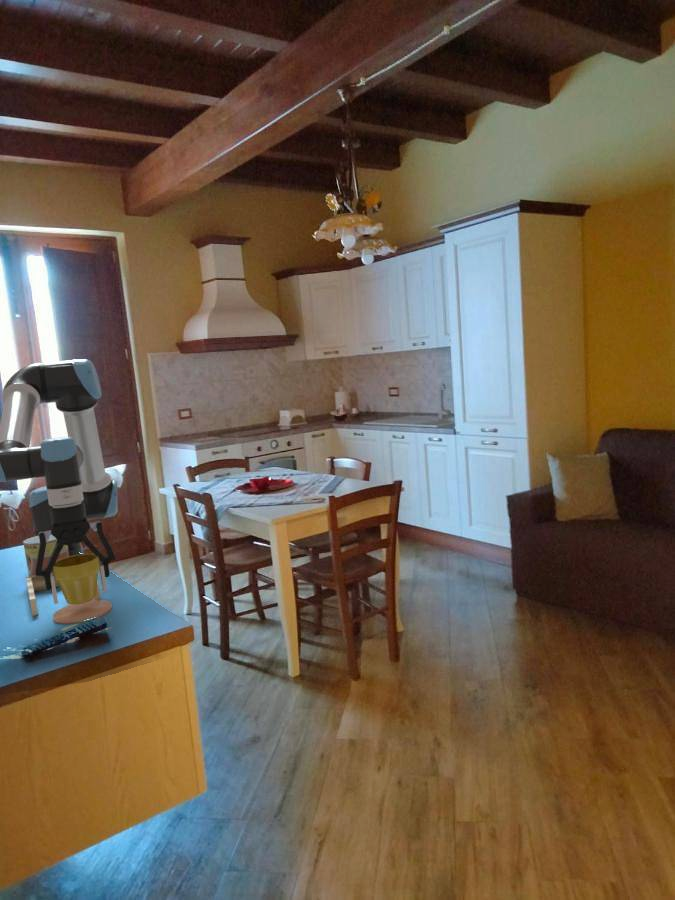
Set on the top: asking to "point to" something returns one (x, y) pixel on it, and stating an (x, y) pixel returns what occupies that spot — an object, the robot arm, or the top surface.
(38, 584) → the slot cradle
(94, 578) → the plant pot
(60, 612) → the disc
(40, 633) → the top surface
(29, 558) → the canned food
